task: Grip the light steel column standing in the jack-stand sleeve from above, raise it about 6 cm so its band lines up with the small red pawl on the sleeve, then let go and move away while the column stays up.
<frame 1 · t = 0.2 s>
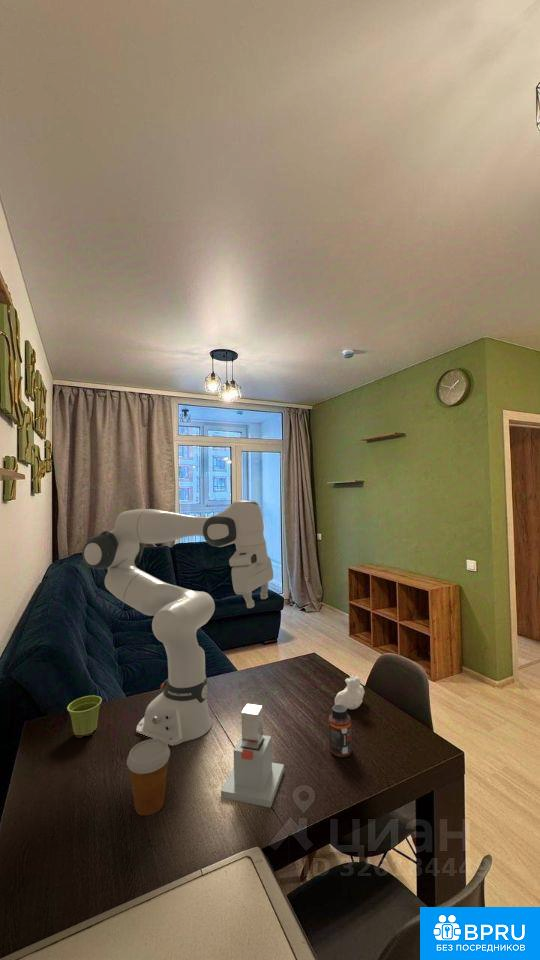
hand: (257, 602, 112), 39 cm above the table, tool pointing down, fingers open, 8 cm apart
stand base: (253, 783, 94), on the table
plant pot: (85, 733, 116), on the table
column: (253, 783, 94), resting on stand base, slide at 0.0 cm
supplement bottle: (340, 751, 105), on the table
disposable coffee cup: (149, 805, 88), on the table
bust: (351, 707, 126), on the table
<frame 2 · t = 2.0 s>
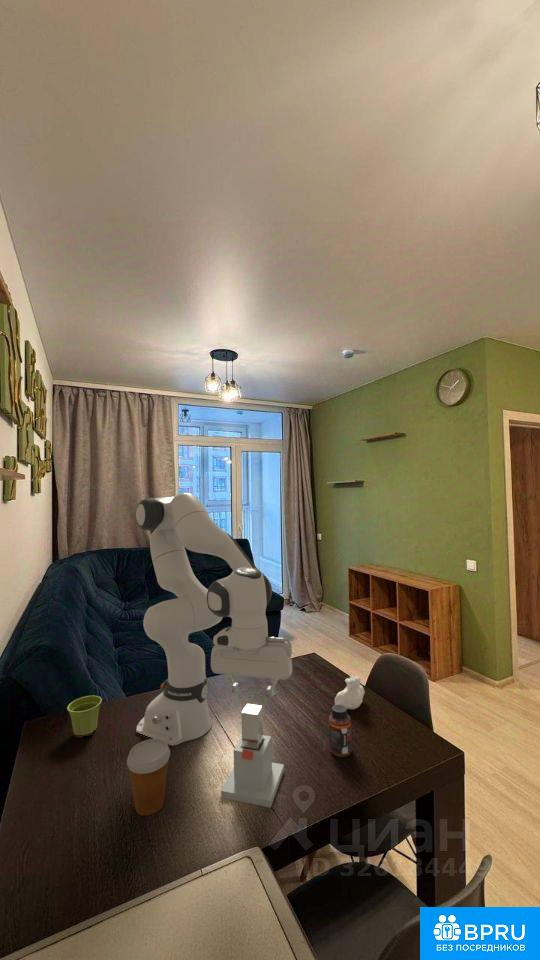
hand: (252, 693, 94), 21 cm above the table, tool pointing down, fingers open, 8 cm apart
nothing on the table moved.
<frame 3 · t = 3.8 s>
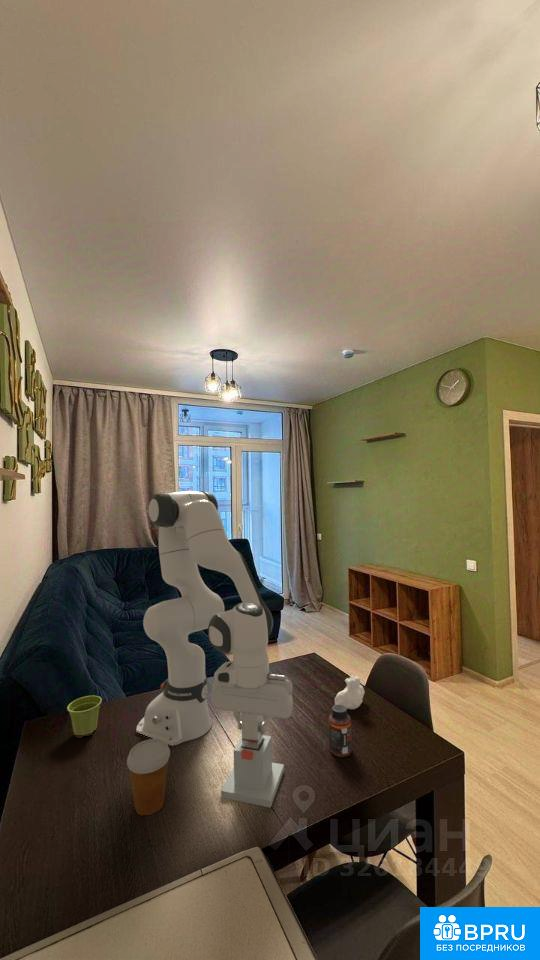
hand: (252, 730, 94), 13 cm above the table, tool pointing down, fingers closed on column, 4 cm apart
column: (253, 783, 94), resting on stand base, slide at 0.0 cm, touching gripper
everything else where it was.
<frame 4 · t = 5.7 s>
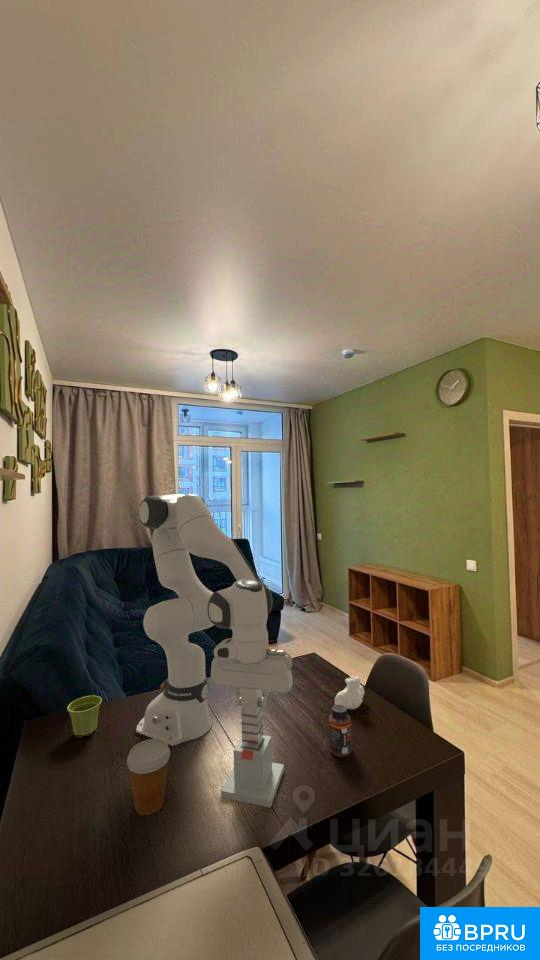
hand: (251, 705, 95), 18 cm above the table, tool pointing down, fingers closed on column, 4 cm apart
column: (253, 758, 94), point 6 cm above the table, slide at 5.8 cm, touching gripper
everything else where it was.
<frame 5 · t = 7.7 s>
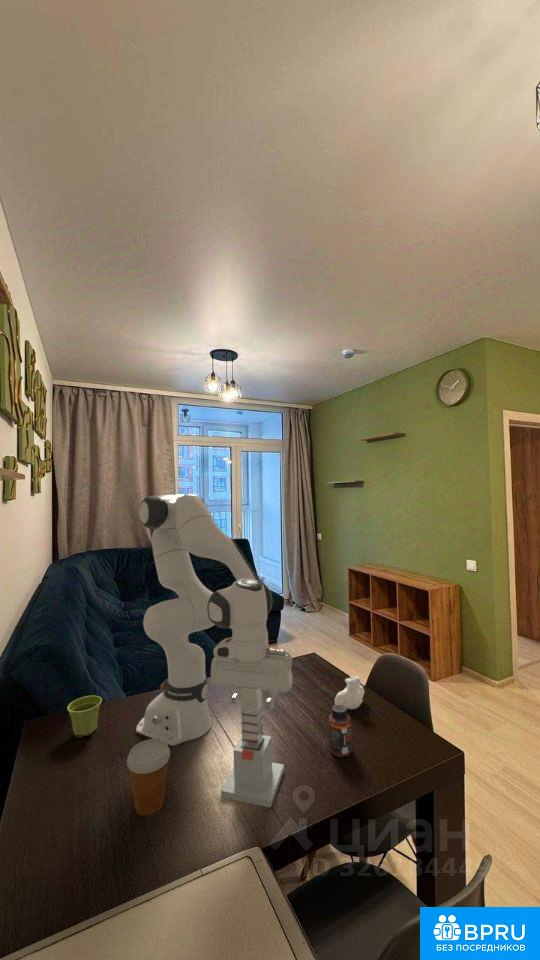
hand: (251, 704, 94), 19 cm above the table, tool pointing down, fingers open, 8 cm apart
column: (253, 758, 94), point 6 cm above the table, slide at 5.9 cm
everything else where it was.
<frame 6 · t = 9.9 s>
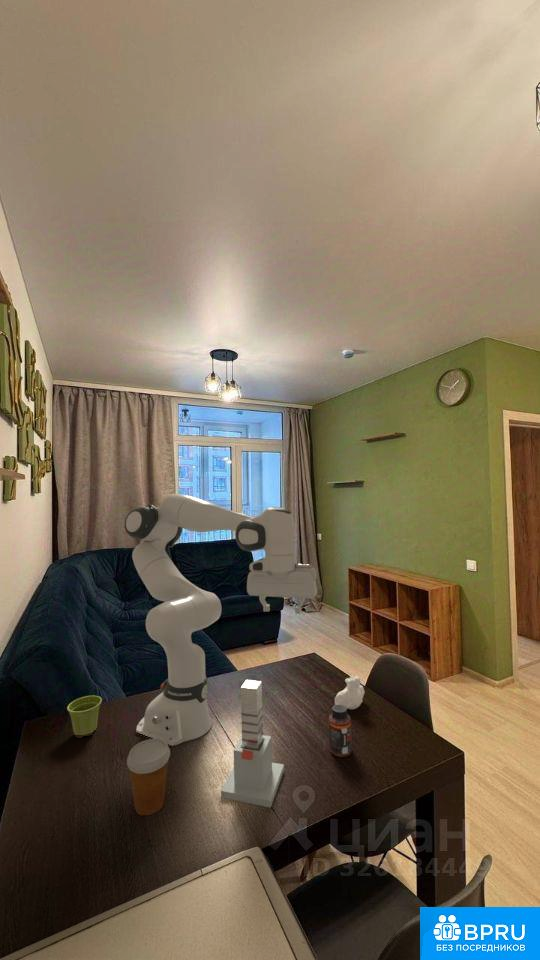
hand: (282, 612, 111), 36 cm above the table, tool pointing down, fingers open, 8 cm apart
nothing on the table moved.
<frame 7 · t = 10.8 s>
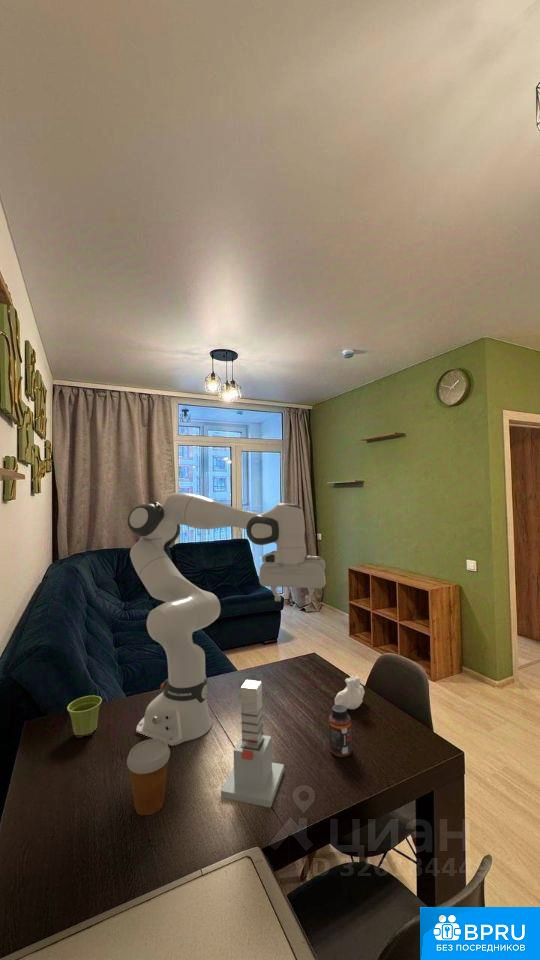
hand: (292, 601, 118), 37 cm above the table, tool pointing down, fingers open, 8 cm apart
nothing on the table moved.
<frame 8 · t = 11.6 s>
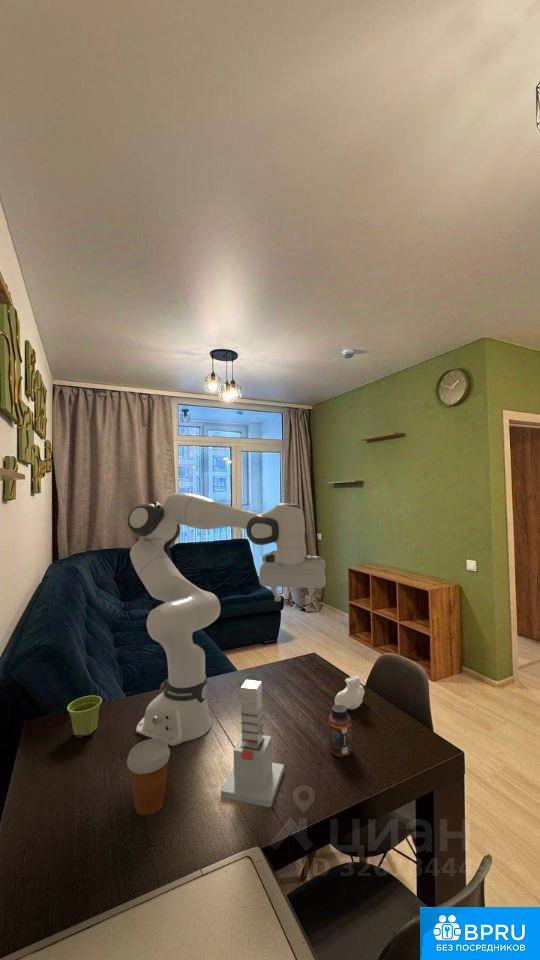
hand: (292, 601, 118), 37 cm above the table, tool pointing down, fingers open, 8 cm apart
nothing on the table moved.
at the end: column slide at 5.9 cm; the gripper is holding nothing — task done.
